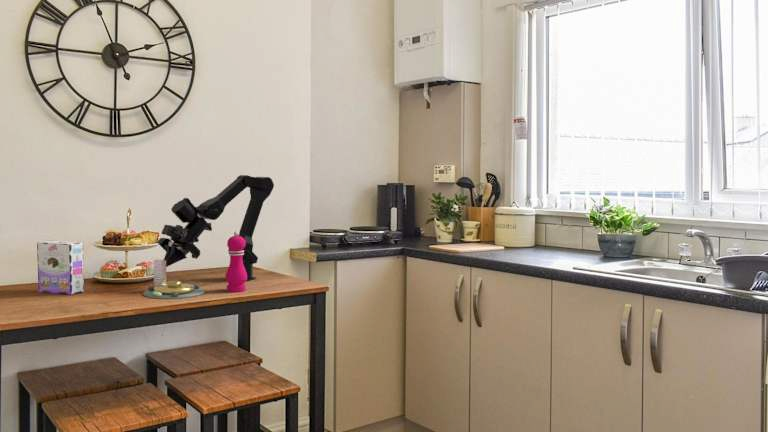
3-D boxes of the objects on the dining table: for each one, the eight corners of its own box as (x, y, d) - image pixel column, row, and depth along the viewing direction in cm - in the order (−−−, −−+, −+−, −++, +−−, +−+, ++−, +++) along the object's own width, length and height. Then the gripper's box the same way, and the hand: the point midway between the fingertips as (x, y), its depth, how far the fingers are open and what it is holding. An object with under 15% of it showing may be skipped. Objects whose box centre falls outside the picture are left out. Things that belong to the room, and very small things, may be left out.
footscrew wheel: (202, 289, 221) (202, 261, 220) (173, 295, 210) (173, 265, 209) (170, 284, 228) (170, 257, 227) (140, 290, 217) (140, 261, 216)
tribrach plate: (216, 293, 219) (216, 288, 219) (163, 301, 205) (163, 295, 205) (184, 285, 231) (184, 280, 231) (132, 292, 217) (132, 287, 217)
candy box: (84, 292, 217) (84, 241, 216) (70, 295, 212) (70, 243, 210) (51, 288, 222) (50, 239, 220) (37, 291, 216) (36, 241, 215)
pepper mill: (241, 293, 221) (242, 232, 219) (221, 291, 222) (221, 231, 221) (250, 289, 228) (250, 230, 226) (230, 288, 229) (230, 229, 228)
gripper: (162, 214, 230) (132, 248, 223) (192, 217, 218) (161, 254, 211) (182, 235, 237) (154, 269, 230) (212, 240, 225) (183, 276, 217)
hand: (162, 267), depth 222 cm, fingers closed, pressing on footscrew wheel
